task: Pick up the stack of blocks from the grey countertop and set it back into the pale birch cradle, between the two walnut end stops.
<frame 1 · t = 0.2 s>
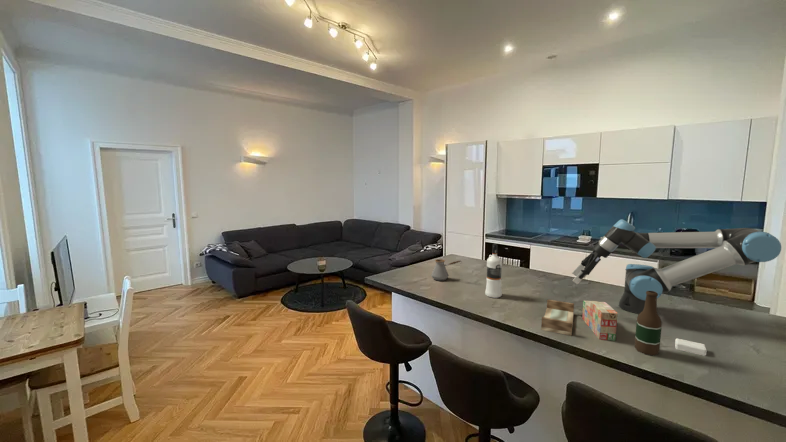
hand: (574, 278, 173), 16 cm above the countertop, tool tilted 35°, fingers open, 13 cm apart
cradle: (558, 321, 159), on the countertop
beer bottle: (646, 351, 132), on the countertop
stack of blocks: (597, 329, 151), on the countertop
soap: (689, 351, 132), on the countertop
coffee pot: (446, 280, 223), on the countertop
vodka: (493, 295, 194), on the countertop
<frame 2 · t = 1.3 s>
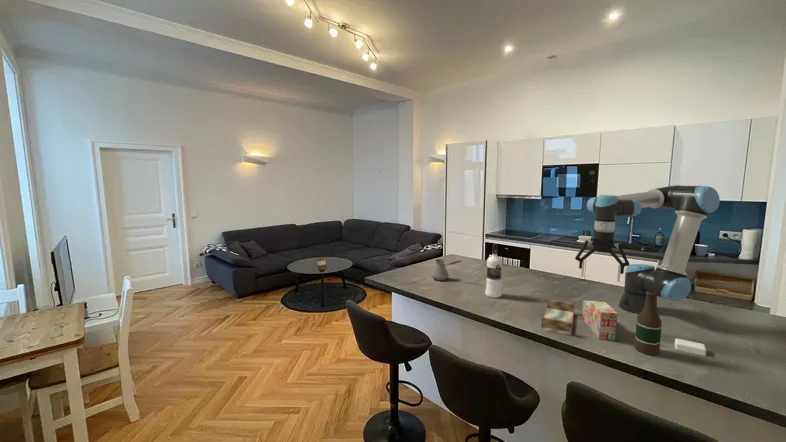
hand: (599, 278, 149), 23 cm above the countertop, tool pointing down, fingers open, 13 cm apart
nothing on the countertop moved.
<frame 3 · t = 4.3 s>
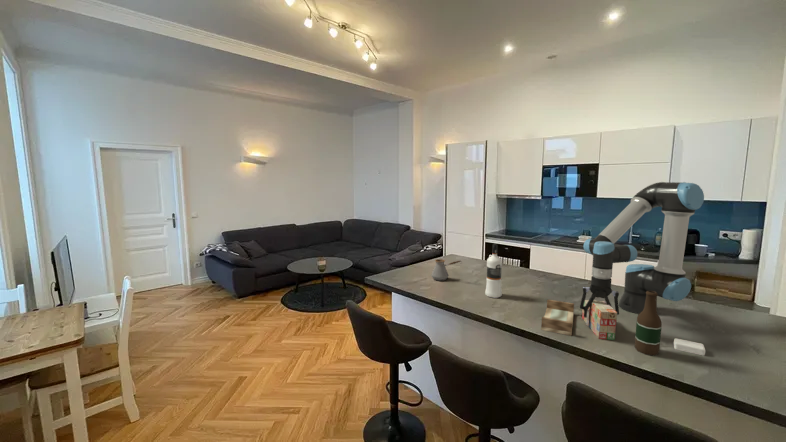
hand: (597, 326, 151), 1 cm above the countertop, tool pointing down, fingers closed on stack of blocks, 7 cm apart
stack of blocks: (597, 328, 151), on the countertop, touching gripper
everything else where it was.
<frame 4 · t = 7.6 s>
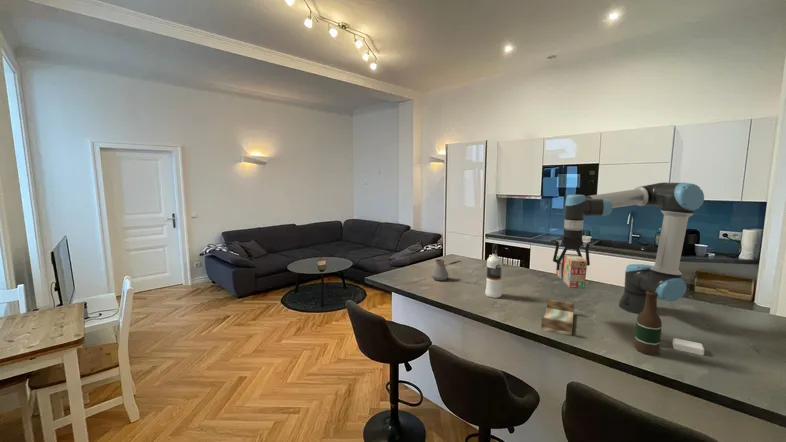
hand: (569, 278, 154), 22 cm above the countertop, tool pointing down, fingers closed on stack of blocks, 7 cm apart
stack of blocks: (569, 281, 154), point 20 cm above the countertop, touching gripper
everything else where it was.
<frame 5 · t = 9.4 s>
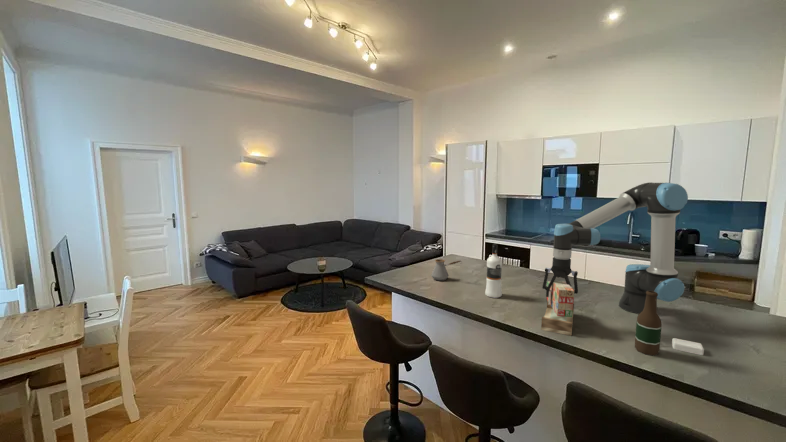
hand: (558, 305, 158), 8 cm above the countertop, tool pointing down, fingers closed on stack of blocks, 7 cm apart
stack of blocks: (558, 307, 158), point 7 cm above the countertop, touching gripper
everything else where it was.
when the fingers open (4 cm above the countertop, at t = 11.1 s): stack of blocks drops 1 cm, resting on cradle.
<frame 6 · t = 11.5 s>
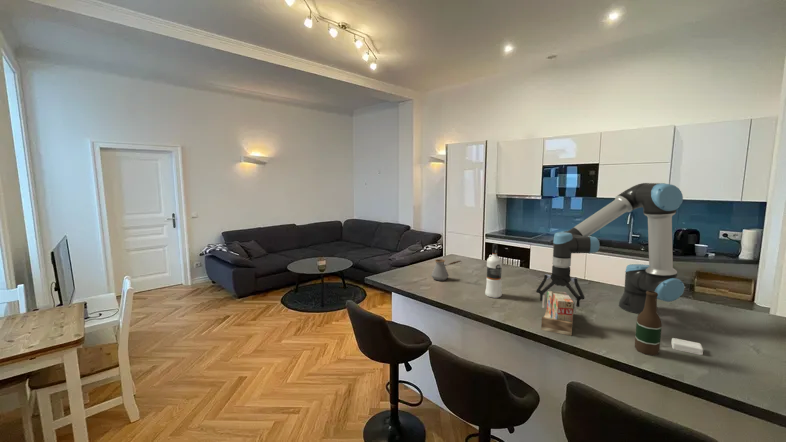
hand: (558, 310, 158), 6 cm above the countertop, tool pointing down, fingers open, 13 cm apart
stack of blocks: (558, 318, 159), point 1 cm above the countertop, touching cradle
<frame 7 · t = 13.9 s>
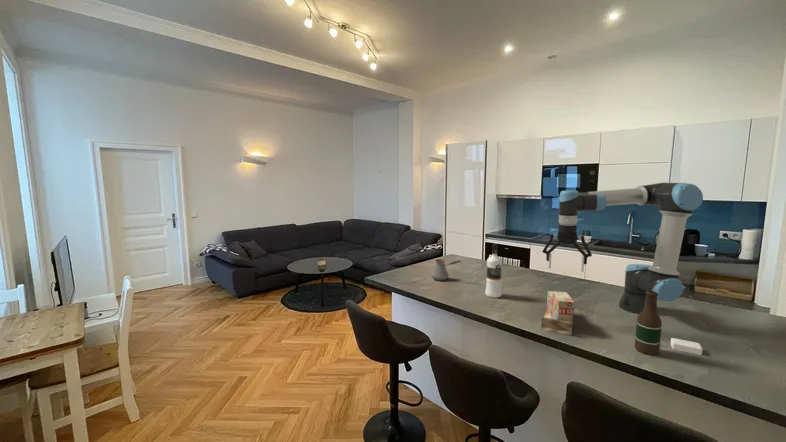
hand: (565, 269, 157), 25 cm above the countertop, tool pointing down, fingers open, 13 cm apart
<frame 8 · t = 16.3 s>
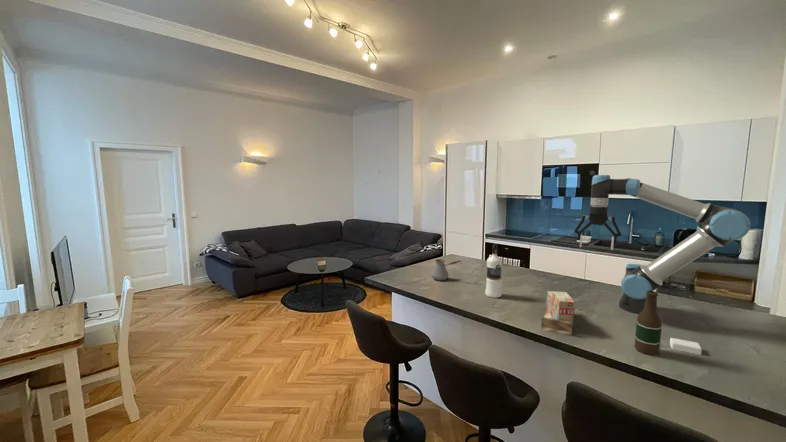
hand: (595, 248, 170), 32 cm above the countertop, tool pointing down, fingers open, 13 cm apart
at the end: stack of blocks 0.5 cm off-centre on the cradle, point 1.5 cm above the cradle's base; stack of blocks tilted 0°; the gripper is holding nothing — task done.
